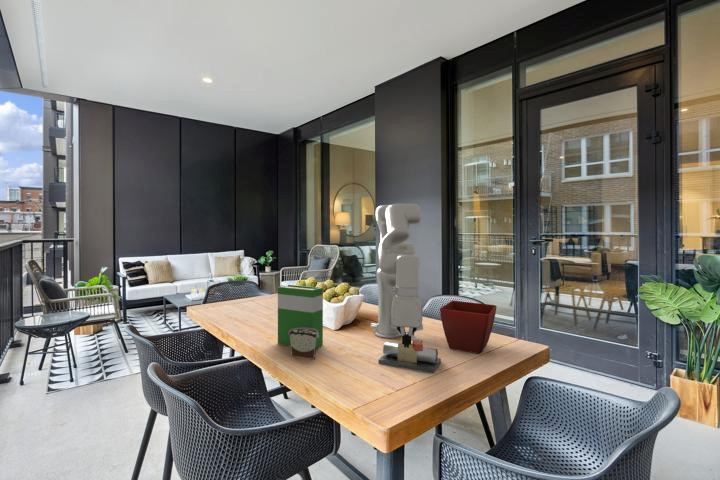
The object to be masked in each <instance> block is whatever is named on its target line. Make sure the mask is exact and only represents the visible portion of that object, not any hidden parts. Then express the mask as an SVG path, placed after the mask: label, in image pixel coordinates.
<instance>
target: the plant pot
mask: <svg viewBox="0 0 720 480" xmlns="http://www.w3.org/2000/svg"><path fill="white" fill-rule="evenodd" d="M439 312H440V318H441V319H440V320H441V325H442V329H443V332H444V337H445V340H446V342H447V345H448V348H449V350H457V351H462V352H467V353H468V352H469V353H474V354H482V353H483V352H484V350H485V349H486V346H488V343H489V341H490V337H491V334H492V331H493V328H494V323H495V319H496V314H497V313H496V312H497V305H495V304H488V303H487V304H486V303H479V302H471V301H470V302H468V301H461V300H450V301H449V302H447V304H445V305H443V306H441V307H440V308H439Z"/></svg>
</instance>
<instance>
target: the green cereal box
mask: <svg viewBox="0 0 720 480" xmlns="http://www.w3.org/2000/svg"><path fill="white" fill-rule="evenodd" d="M323 312H324V288H323V287H321V286H320V287H318V286H309V285H297V284H287V286H277V344H278V345H284V346H289V347H291V344H290V335H288V333H289V330H291V329H294V328H302V327H307V328H314V329H316V330H318V333H319V338H318V339H317V346H316V349H317V347H318V348H320V347H321V346H323V345H324V344H323V343H324V340H323V339H324V338H323V337H324V334H323V333H324V331H323V330H324V329H323V327H324V326H323V325H324V323H323V322H324V319H323V318H324V315H323V314H324V313H323Z"/></svg>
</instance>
